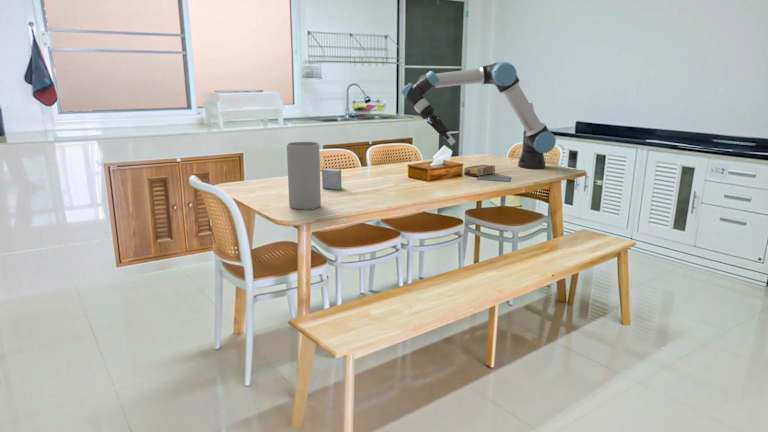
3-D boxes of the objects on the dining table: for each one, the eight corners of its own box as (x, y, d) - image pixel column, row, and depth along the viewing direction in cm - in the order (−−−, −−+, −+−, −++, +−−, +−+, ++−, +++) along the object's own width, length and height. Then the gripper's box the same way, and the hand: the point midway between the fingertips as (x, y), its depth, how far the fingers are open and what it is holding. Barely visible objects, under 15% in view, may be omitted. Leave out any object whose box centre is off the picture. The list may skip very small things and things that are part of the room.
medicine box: (341, 187, 242) (341, 169, 240) (337, 189, 238) (337, 171, 235) (326, 186, 244) (325, 168, 242) (322, 188, 240) (321, 170, 238)
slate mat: (511, 177, 269) (511, 176, 269) (509, 181, 258) (509, 181, 258) (479, 175, 274) (480, 174, 274) (476, 179, 263) (476, 178, 263)
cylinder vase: (283, 208, 206) (280, 145, 199) (299, 201, 217) (297, 141, 210) (311, 211, 201) (309, 147, 194) (326, 204, 213) (324, 142, 206)
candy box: (476, 176, 267) (495, 172, 277) (476, 168, 266) (495, 164, 276) (463, 175, 274) (482, 171, 283) (463, 167, 273) (482, 163, 283)
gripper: (424, 113, 279) (452, 146, 276) (414, 115, 268) (443, 149, 265) (434, 103, 275) (462, 137, 273) (424, 104, 264) (454, 140, 261)
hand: (453, 143), depth 269 cm, fingers closed
